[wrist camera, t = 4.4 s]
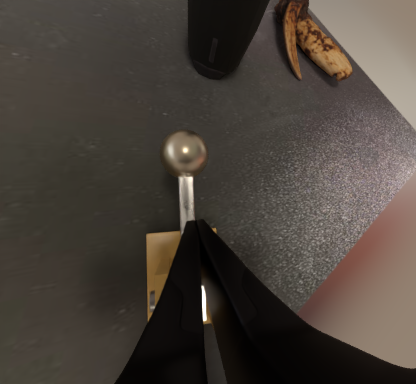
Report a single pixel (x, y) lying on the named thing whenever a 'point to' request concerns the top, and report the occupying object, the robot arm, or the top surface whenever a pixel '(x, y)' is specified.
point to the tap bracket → (162, 265)
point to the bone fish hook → (309, 40)
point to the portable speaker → (221, 33)
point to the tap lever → (185, 173)
